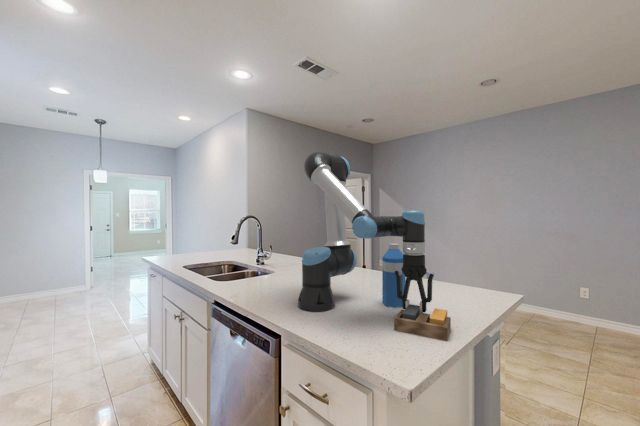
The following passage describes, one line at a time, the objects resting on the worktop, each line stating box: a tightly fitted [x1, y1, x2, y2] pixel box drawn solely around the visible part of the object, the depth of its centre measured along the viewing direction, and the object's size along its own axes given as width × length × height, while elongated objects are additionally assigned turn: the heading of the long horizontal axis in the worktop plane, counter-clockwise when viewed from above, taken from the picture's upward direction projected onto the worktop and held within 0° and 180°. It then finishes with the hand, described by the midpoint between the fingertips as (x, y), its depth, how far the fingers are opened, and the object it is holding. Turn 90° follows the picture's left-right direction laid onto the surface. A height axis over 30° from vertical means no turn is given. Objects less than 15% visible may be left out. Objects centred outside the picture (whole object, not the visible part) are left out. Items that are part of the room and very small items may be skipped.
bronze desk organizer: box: [393, 309, 452, 342], centre depth 93 cm, size 16×10×4 cm, turn 60°
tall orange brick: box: [430, 307, 448, 325], centre depth 94 cm, size 4×11×5 cm, turn 150°
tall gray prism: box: [402, 303, 420, 321], centre depth 98 cm, size 4×11×5 cm, turn 150°
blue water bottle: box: [381, 243, 406, 308], centre depth 120 cm, size 9×9×25 cm
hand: (414, 319), depth 102 cm, fingers open, 4 cm apart
